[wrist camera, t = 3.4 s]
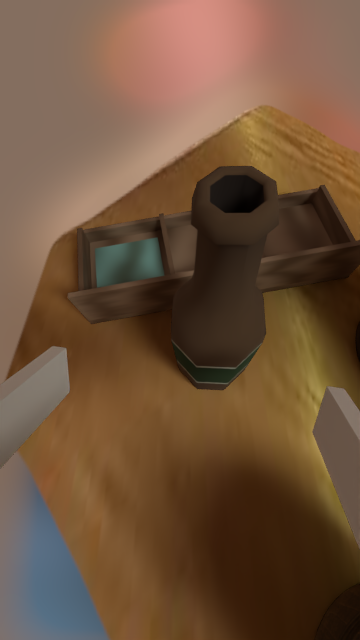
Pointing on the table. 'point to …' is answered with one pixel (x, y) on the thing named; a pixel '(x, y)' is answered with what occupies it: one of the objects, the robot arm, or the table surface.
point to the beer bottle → (224, 277)
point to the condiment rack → (180, 248)
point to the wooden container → (342, 617)
